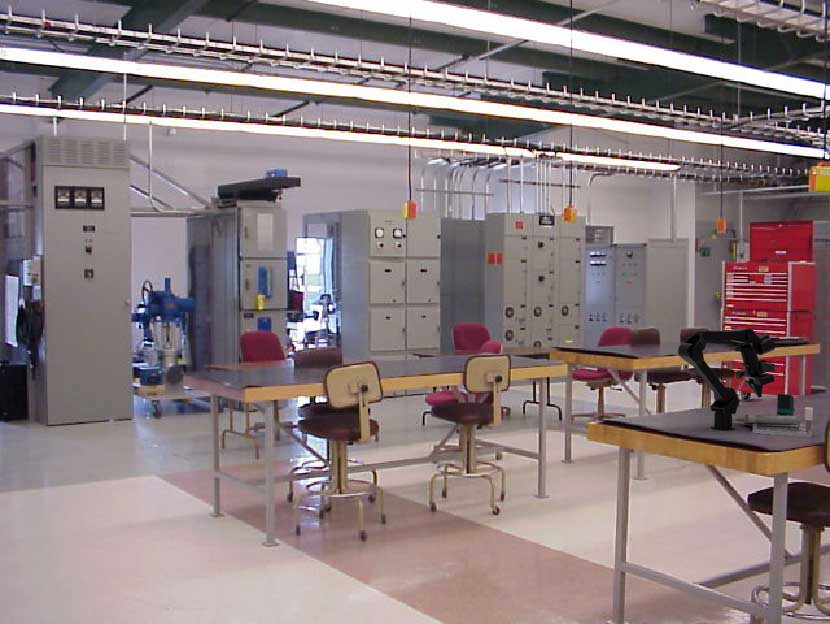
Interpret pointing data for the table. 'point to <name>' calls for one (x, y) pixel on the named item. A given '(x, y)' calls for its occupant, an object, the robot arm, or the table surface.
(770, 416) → the geiger counter
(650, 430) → the table surface
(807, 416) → the cap
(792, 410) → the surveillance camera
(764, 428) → the fader console
